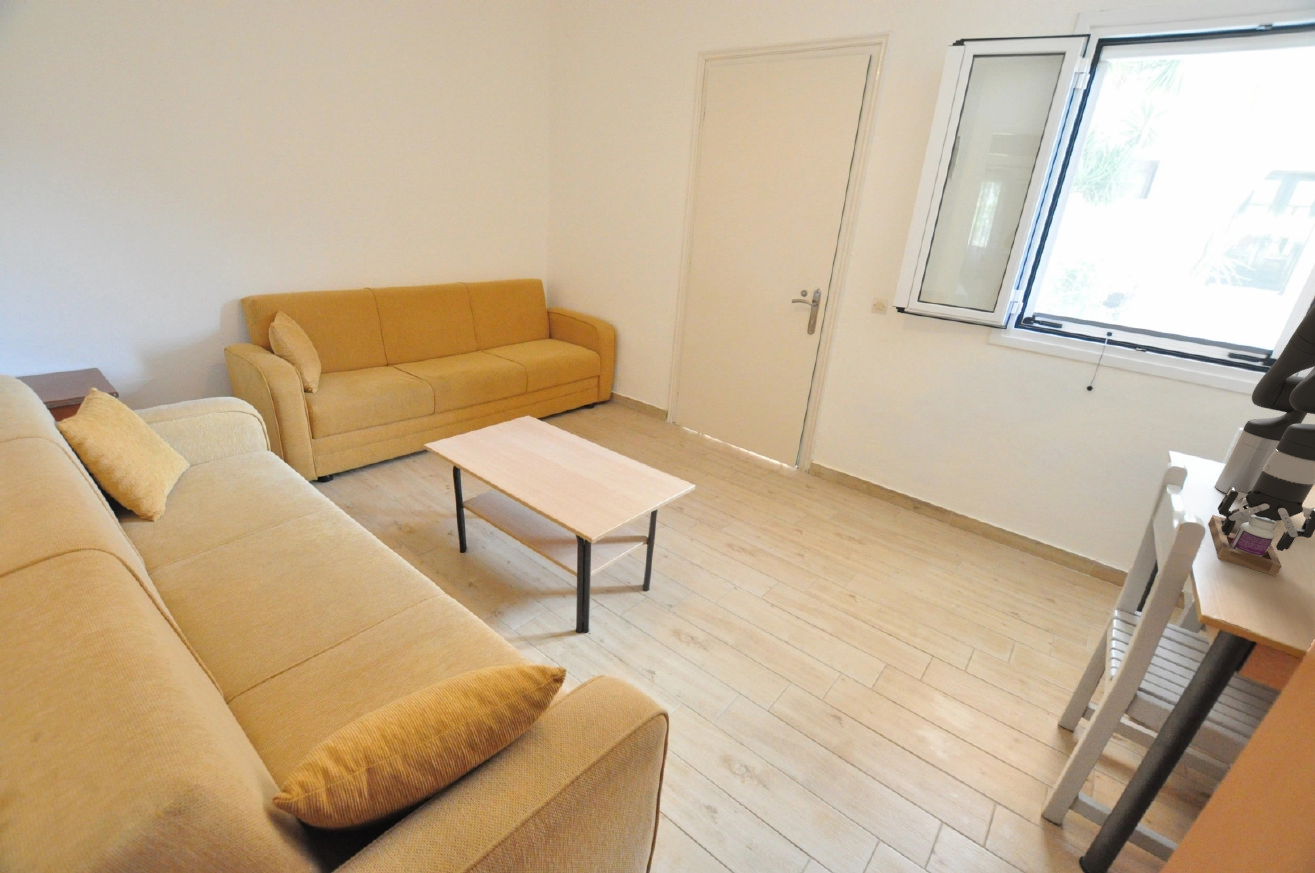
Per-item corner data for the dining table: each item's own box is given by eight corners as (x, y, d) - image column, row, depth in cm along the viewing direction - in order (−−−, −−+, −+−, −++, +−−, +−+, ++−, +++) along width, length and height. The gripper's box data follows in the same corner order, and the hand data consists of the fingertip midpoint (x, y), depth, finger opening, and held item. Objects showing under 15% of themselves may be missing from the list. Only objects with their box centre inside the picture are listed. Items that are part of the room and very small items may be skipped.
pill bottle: (1266, 566, 121) (1289, 527, 117) (1238, 562, 121) (1259, 523, 118) (1247, 552, 125) (1268, 514, 122) (1220, 548, 126) (1240, 511, 123)
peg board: (1208, 523, 137) (1226, 487, 133) (1258, 537, 132) (1279, 500, 128) (1218, 558, 122) (1239, 518, 118) (1275, 576, 117) (1300, 535, 113)
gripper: (1334, 479, 114) (1294, 547, 121) (1239, 458, 122) (1206, 522, 128) (1344, 492, 109) (1302, 562, 115) (1244, 469, 117) (1209, 535, 123)
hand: (1251, 541), depth 122 cm, fingers open, 8 cm apart
